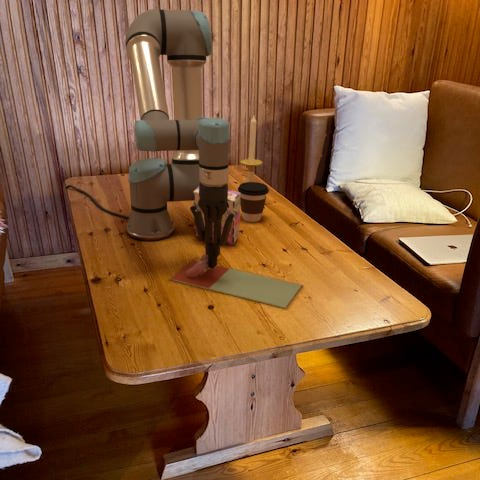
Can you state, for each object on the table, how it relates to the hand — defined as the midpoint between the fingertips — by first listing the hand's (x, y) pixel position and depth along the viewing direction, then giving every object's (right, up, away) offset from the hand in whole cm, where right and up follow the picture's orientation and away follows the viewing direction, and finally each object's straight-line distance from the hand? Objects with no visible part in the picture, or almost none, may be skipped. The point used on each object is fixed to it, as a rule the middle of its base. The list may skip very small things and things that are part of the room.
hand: (212, 265), depth 148 cm
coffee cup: (+12, +21, +42) cm, 49 cm away
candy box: (0, +12, +25) cm, 28 cm away
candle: (+11, +31, +58) cm, 67 cm away
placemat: (+7, -5, 0) cm, 8 cm away
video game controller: (-3, -2, +3) cm, 5 cm away
